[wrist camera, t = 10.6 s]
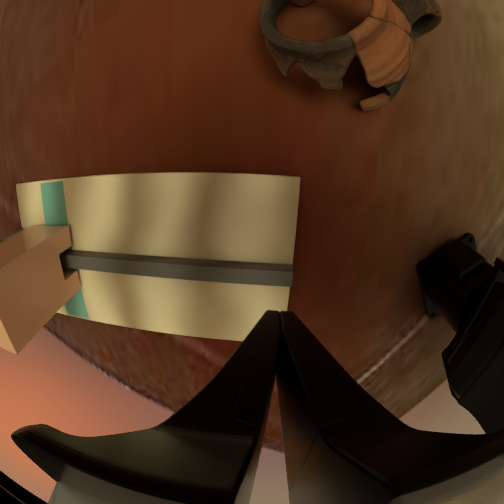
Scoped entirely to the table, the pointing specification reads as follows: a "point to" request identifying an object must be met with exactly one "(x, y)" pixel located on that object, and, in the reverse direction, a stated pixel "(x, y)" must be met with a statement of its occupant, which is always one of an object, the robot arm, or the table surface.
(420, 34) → the pottery mug
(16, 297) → the notched tan block
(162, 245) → the rail board
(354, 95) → the table surface
